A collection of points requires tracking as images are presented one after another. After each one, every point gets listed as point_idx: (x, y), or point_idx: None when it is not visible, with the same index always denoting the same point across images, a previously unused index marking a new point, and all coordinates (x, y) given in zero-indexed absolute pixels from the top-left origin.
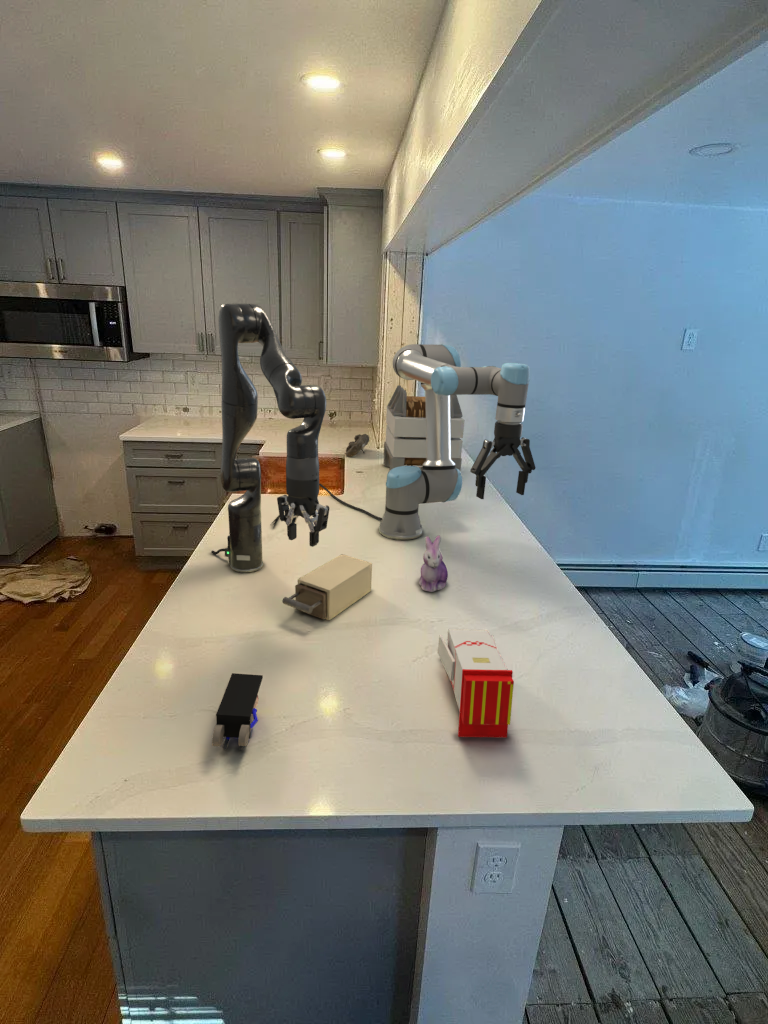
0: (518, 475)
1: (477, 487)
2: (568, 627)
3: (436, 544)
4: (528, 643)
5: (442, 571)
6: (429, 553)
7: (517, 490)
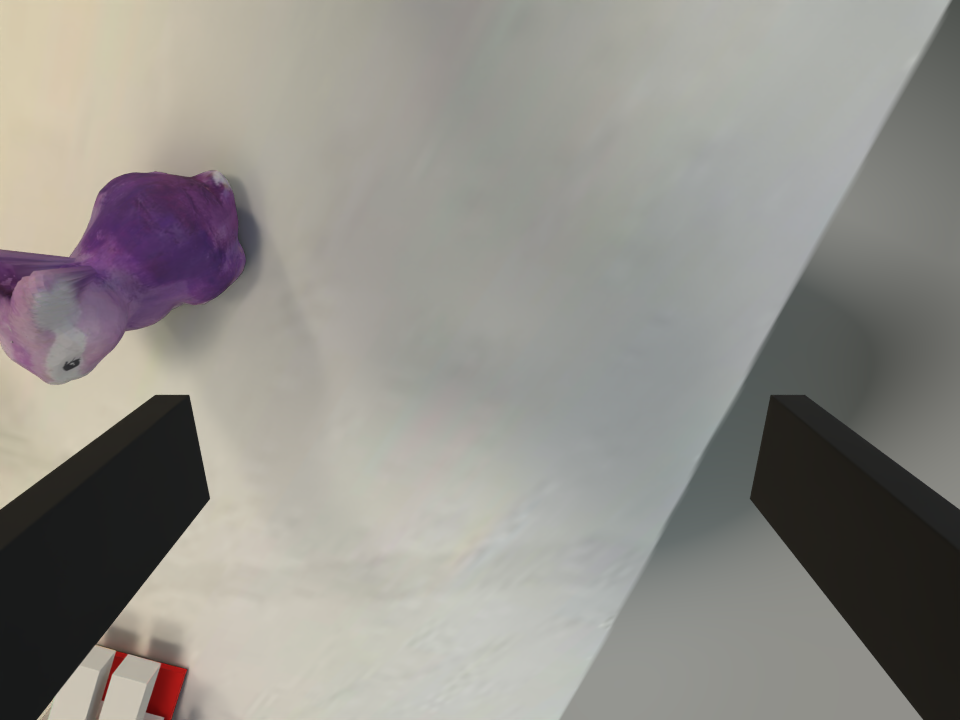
0: (957, 558)
1: (73, 465)
2: (516, 621)
3: (25, 331)
4: (351, 645)
5: (175, 302)
6: (4, 349)
7: (784, 429)
